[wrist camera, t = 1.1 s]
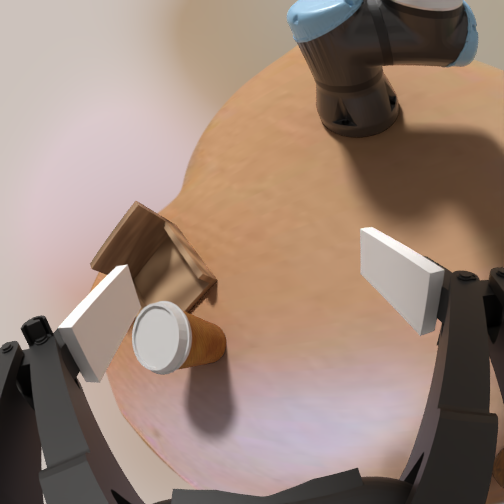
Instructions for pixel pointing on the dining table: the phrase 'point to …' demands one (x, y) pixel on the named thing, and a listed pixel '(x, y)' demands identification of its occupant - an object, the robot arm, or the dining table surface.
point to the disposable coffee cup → (174, 339)
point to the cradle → (155, 259)
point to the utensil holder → (499, 468)
